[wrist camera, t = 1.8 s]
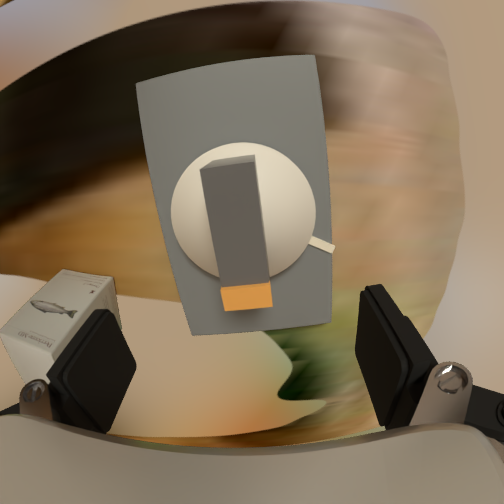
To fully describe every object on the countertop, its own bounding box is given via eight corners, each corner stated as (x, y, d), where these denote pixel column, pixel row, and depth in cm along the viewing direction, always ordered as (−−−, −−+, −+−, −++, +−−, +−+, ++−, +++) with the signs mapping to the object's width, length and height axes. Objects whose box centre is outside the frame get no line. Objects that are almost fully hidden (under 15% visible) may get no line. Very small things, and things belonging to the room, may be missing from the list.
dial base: (144, 86, 20) (134, 83, 18) (313, 60, 19) (318, 54, 17) (195, 323, 30) (191, 336, 28) (329, 310, 29) (334, 323, 27)
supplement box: (114, 274, 27) (52, 355, 16) (123, 329, 30) (80, 410, 19) (62, 265, 27) (-5, 330, 16) (74, 317, 30) (24, 386, 19)
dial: (163, 155, 20) (128, 166, 14) (306, 135, 20) (327, 136, 14) (190, 280, 25) (172, 326, 19) (315, 266, 24) (333, 311, 18)
